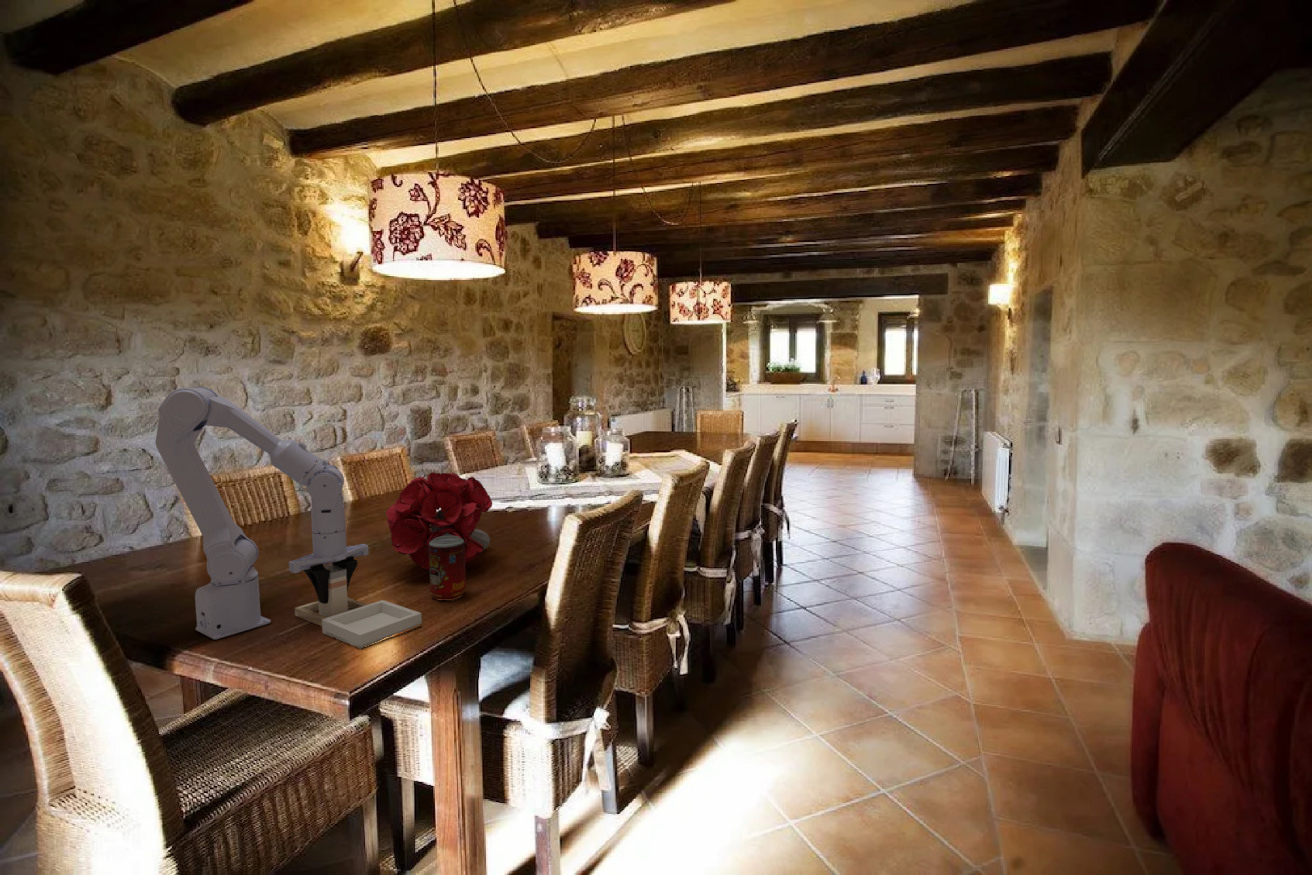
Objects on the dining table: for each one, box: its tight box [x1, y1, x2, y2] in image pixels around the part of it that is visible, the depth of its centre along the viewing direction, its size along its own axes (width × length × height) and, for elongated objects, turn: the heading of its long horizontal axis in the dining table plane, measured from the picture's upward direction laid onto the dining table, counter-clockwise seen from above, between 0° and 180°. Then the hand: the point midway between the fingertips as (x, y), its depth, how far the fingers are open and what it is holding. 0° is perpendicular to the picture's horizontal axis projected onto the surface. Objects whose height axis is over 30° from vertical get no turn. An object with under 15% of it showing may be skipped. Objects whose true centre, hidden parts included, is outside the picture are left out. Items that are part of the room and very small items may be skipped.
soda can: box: [429, 535, 467, 600], centre depth 136 cm, size 7×7×12 cm
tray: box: [321, 599, 423, 650], centre depth 119 cm, size 12×12×2 cm
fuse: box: [317, 564, 349, 617], centre depth 126 cm, size 3×5×9 cm, turn 56°
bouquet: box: [385, 471, 493, 571], centre depth 158 cm, size 22×24×30 cm
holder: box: [294, 596, 369, 627], centre depth 127 cm, size 9×11×2 cm
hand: (332, 599), depth 126 cm, fingers closed on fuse, 3 cm apart
